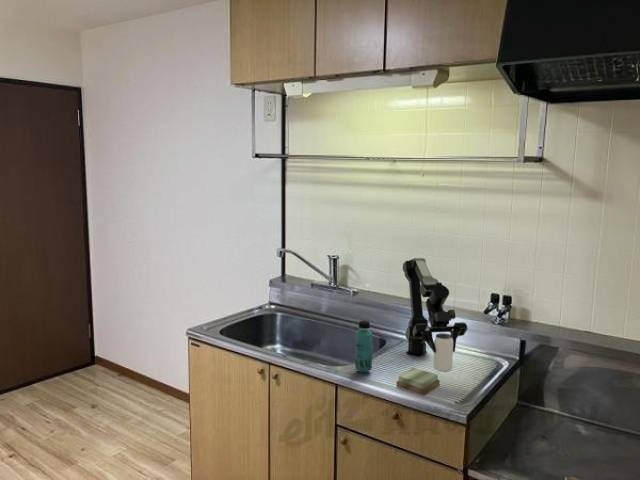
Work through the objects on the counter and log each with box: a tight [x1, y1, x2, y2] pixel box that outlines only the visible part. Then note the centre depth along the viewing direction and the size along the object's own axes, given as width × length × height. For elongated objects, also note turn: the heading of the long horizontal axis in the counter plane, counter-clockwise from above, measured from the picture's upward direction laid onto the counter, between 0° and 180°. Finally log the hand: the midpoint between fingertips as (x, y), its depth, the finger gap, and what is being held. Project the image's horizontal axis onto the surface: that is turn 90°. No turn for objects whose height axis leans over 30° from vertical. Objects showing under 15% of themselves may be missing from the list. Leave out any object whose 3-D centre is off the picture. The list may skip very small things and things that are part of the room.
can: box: [433, 332, 454, 373], centre depth 185 cm, size 6×6×12 cm
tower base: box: [396, 367, 440, 396], centre depth 187 cm, size 11×11×4 cm
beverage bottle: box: [354, 320, 373, 373], centre depth 198 cm, size 6×7×20 cm
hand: (444, 351), depth 183 cm, fingers closed on can, 6 cm apart
